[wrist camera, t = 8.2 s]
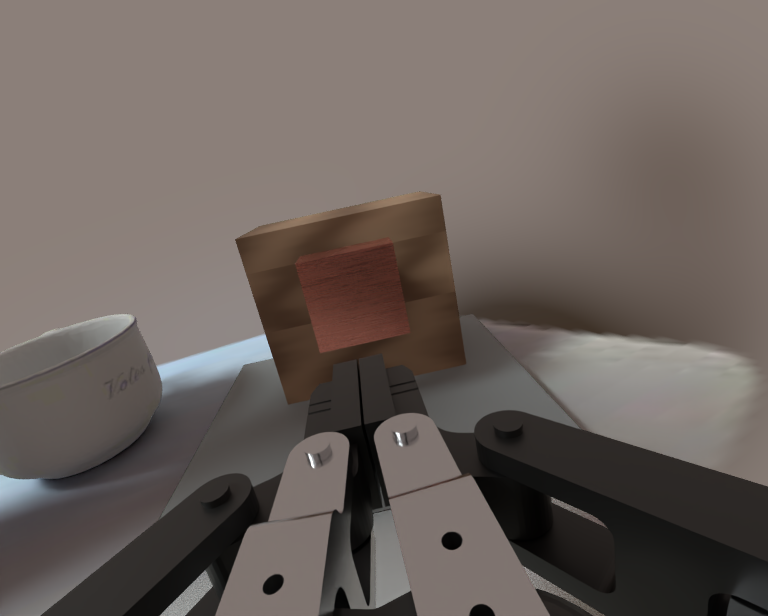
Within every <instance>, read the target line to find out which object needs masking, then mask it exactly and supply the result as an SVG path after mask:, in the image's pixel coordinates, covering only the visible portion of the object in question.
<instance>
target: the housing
mask: <svg viewBox="0 0 768 616" xmlns="http://www.w3.org/2000/svg"><path fill="white" fill-rule="evenodd" d="M387 237H389V238H390V239H391V241H392V242H393V246H394V251H395V256H396V261H397V266H398V271H399V276H400V281H401V287H402V292H403V297H404V302H405V307H406V312H407V317H408V322H409V327H410V332H411V333H408V334H404V335H399V336H395V337H390V338H386V339H381V340H377V341H373V342H368V343H364V344H359V345H355V346H350V347H346V348H341V349H337V350H332V351H328V352H324V353H320V351H319V348H318V344H317V340H316V337H315V333H314V330H313V326H312V323H311V319H310V315H309V312H308V308H307V305H306V301H305V297H304V294H303V290H302V287H301V283H300V279H299V276H298V272H297V269H296V265H295V263H296V262H297V260H298V258H299V257H300V256H304V255H309V254H314V253H318V252H323V251H327V250H332V249H336V248H341V247H346V246H350V245H355V244H359V243H364V242H368V241H373V240H378V239H382V238H387ZM235 241H236V244H237V247H238V250H239V253H240V256H241V259H242V262H243V266H244V268H245V272H246V275H247V278H248V281H249V284H250V287H251V291H252V294H253V297H254V300H255V303H256V306H257V309H258V312H259V315H260V319H261V322H262V325H263V328H264V330H265V334H266V337H267V341H268V344H269V347H270V350H271V353H272V356H273V359H274V362H275V365H276V369H277V372H278V375H279V378H280V381H281V384H282V387H283V390H284V394H285V397H286V400H287V403H288V405H289V404H293V403H298V402H302V401H307V400H310V396H311V394H312V392H313V391H314V390H315V389H316V387H317V386H318V385H319V384H322V383H326V382H330V381H332V376H333V364H337V363H342V362H346V361H350V360H355V359H357V360H358V363H359V358H363V357H367V356H372V355H376V354H381V353H382V356H383V360H384V364H385V369H386V368H391V367H395V366H399V365H404V366H405V367H407V368H409V369H410V370H412V372H413V374H414V376H417V375H421V374H426V373H430V372H434V371H439V370H443V369H448V368H452V367H456V366H461V365H465V364H466V357H465V351H464V345H463V338H462V332H461V325H460V319H459V312H458V306H457V299H456V293H455V286H454V280H453V273H452V267H451V260H450V254H449V248H448V241H447V234H446V228H445V221H444V215H443V209H442V202H441V196H440V195H439V194H432V193H426V192H420V191H419V192H415V193H410V194H406V195H401V196H397V197H392V198H387V199H382V200H378V201H373V202H369V203H364V204H360V205H355V206H350V207H346V208H341V209H336V210H332V211H327V212H323V213H318V214H313V215H309V216H304V217H300V218H295V219H290V220H285V221H281V222H277V223H272V224H267V225H263V226H259V227H258V228H255V229H254V230H252V231H250V232H248V233H246V234H244V235H242V236H240V237H239V238H237V239H235Z"/></svg>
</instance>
